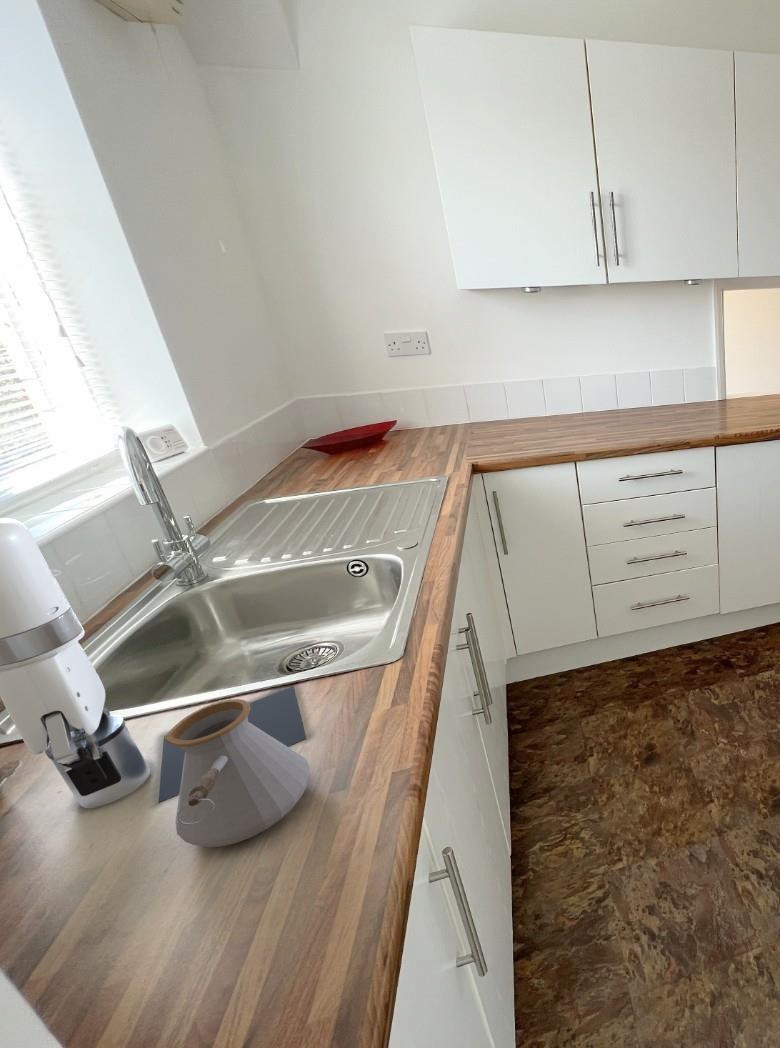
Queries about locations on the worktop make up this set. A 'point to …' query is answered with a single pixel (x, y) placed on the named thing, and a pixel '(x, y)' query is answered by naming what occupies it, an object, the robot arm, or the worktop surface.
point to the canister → (121, 752)
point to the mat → (267, 714)
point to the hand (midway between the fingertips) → (105, 768)
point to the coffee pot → (232, 776)
